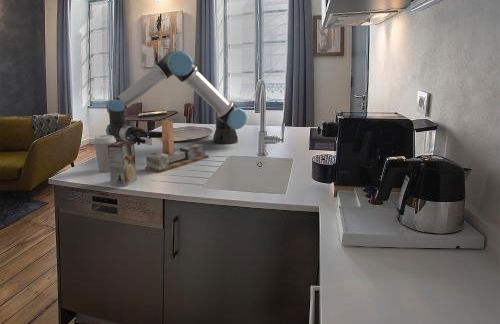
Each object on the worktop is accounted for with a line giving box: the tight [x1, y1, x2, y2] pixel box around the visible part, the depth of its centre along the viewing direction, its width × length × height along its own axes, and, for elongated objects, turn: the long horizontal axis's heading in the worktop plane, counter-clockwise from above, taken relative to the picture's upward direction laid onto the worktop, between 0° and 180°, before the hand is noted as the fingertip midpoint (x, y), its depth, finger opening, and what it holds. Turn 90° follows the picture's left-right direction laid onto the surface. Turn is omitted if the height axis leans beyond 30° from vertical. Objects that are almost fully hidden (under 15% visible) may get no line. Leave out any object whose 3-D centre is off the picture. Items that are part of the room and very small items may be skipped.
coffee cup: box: [92, 134, 117, 173], centre depth 164 cm, size 10×10×15 cm
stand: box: [145, 143, 210, 174], centre depth 178 cm, size 33×9×7 cm, turn 146°
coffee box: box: [108, 140, 138, 187], centre depth 148 cm, size 9×6×16 cm
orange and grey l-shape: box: [161, 119, 187, 163], centre depth 173 cm, size 20×4×19 cm, turn 146°
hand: (162, 139), depth 172 cm, fingers open, 13 cm apart
